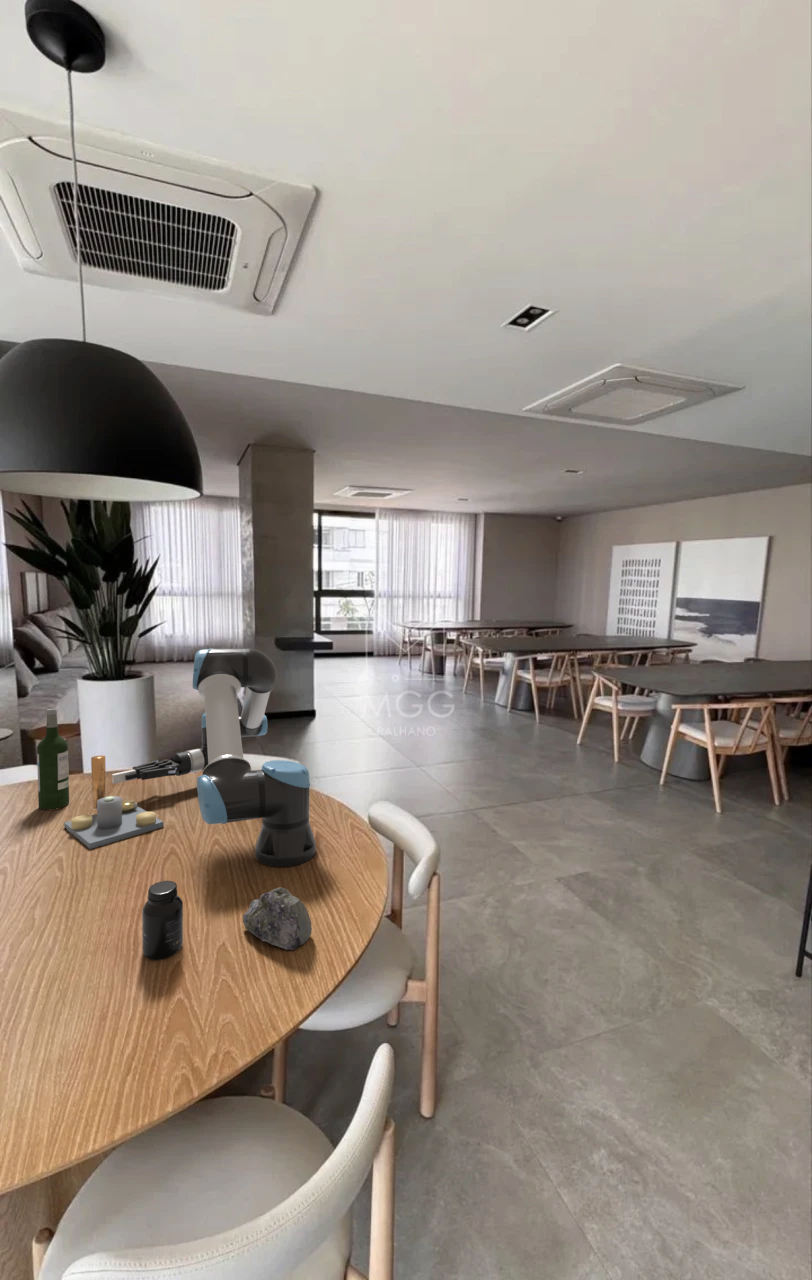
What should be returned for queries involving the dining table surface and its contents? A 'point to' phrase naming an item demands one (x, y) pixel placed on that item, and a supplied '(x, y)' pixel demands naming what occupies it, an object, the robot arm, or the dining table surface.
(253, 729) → the robot arm
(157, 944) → the supplement bottle
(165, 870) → the dining table surface
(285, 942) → the mineral rock
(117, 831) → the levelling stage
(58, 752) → the wine bottle
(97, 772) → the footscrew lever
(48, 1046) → the dining table surface
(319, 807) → the dining table surface
